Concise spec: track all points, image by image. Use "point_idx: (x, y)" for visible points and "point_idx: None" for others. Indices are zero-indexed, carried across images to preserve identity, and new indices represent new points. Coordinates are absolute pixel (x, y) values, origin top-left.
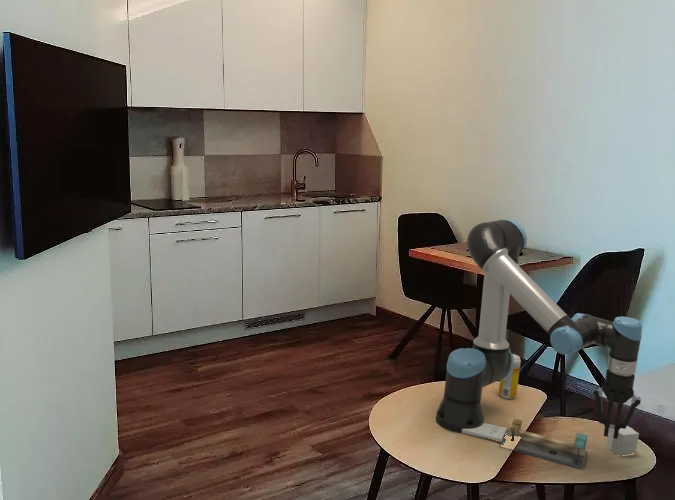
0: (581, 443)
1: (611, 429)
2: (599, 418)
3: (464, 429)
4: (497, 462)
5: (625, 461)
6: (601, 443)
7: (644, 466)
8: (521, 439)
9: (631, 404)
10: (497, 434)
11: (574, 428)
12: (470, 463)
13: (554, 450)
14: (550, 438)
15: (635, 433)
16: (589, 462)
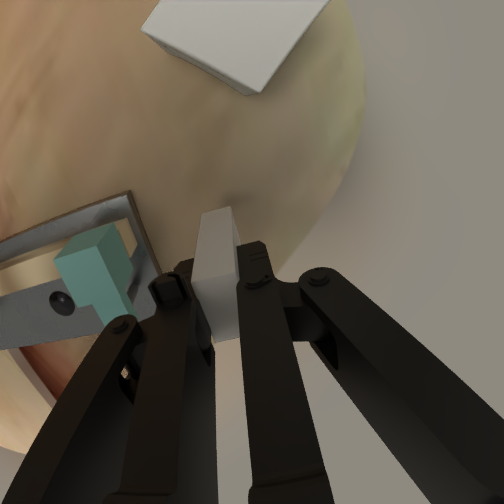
0: (118, 312)
1: (233, 334)
2: (133, 395)
3: None
4: (41, 402)
5: (280, 115)
6: (135, 34)
7: (355, 102)
8: None
9: (453, 491)
10: None
11: (12, 23)
12: (31, 424)
13: (55, 287)
14: (10, 272)
15: (316, 9)
16: (168, 243)
